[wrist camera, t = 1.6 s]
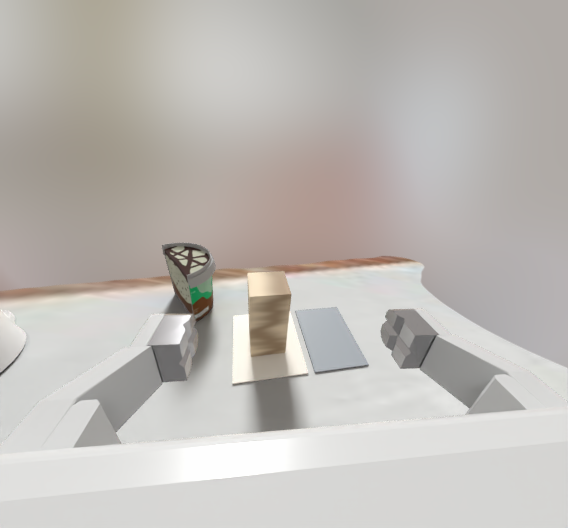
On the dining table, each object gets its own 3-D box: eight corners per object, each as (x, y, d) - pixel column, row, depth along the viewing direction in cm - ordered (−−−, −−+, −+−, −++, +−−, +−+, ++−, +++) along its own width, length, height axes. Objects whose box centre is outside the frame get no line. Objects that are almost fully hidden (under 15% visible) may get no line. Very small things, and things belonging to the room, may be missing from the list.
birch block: (250, 356, 31) (249, 296, 26) (249, 329, 36) (247, 273, 30) (285, 352, 32) (291, 294, 27) (279, 326, 36) (283, 271, 31)
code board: (232, 384, 28) (232, 383, 28) (233, 316, 38) (233, 315, 38) (368, 365, 32) (368, 364, 32) (336, 307, 42) (336, 306, 42)
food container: (232, 311, 39) (228, 263, 34) (198, 328, 36) (188, 277, 30) (202, 279, 47) (195, 235, 42) (172, 289, 43) (160, 243, 38)
